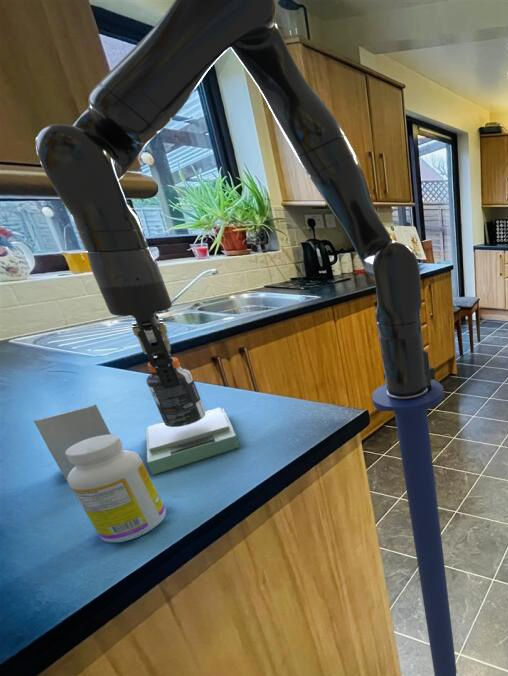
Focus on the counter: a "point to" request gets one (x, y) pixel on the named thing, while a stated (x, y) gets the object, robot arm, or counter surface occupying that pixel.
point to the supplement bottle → (114, 488)
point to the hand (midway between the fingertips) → (170, 380)
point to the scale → (189, 441)
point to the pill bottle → (176, 398)
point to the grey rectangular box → (70, 432)
